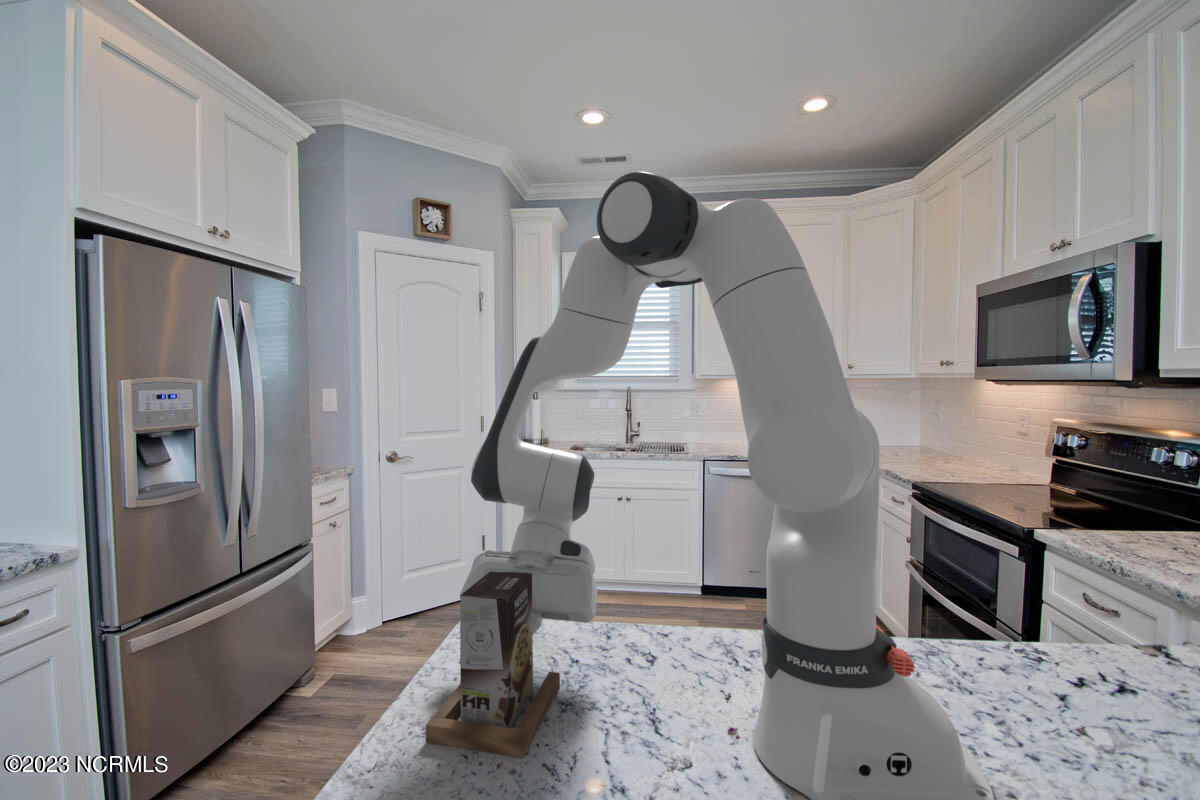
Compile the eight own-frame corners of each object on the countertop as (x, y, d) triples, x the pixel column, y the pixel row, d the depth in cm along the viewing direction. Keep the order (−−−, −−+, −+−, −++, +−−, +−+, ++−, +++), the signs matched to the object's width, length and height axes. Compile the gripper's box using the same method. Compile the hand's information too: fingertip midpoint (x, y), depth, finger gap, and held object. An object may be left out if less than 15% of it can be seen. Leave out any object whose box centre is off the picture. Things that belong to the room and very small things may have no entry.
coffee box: (509, 735, 59) (507, 599, 58) (458, 728, 60) (457, 594, 60) (535, 690, 68) (534, 571, 67) (491, 685, 69) (489, 568, 69)
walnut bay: (559, 687, 68) (559, 672, 68) (523, 757, 55) (523, 739, 55) (478, 677, 71) (478, 663, 71) (425, 742, 58) (425, 724, 58)
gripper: (471, 540, 78) (438, 631, 69) (598, 548, 74) (582, 646, 64) (484, 559, 83) (455, 647, 73) (605, 567, 78) (590, 662, 69)
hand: (515, 647), depth 69 cm, fingers closed, pressing on coffee box
